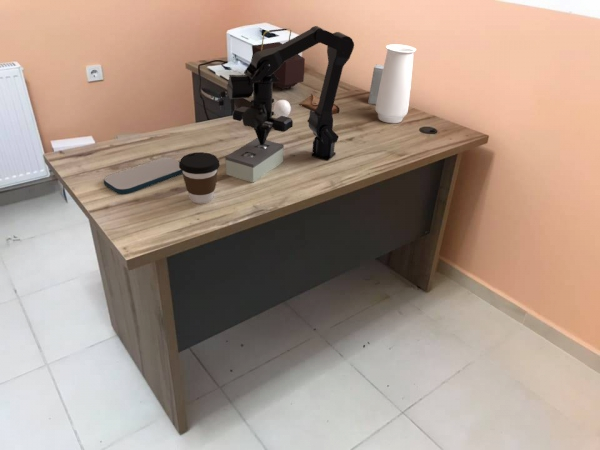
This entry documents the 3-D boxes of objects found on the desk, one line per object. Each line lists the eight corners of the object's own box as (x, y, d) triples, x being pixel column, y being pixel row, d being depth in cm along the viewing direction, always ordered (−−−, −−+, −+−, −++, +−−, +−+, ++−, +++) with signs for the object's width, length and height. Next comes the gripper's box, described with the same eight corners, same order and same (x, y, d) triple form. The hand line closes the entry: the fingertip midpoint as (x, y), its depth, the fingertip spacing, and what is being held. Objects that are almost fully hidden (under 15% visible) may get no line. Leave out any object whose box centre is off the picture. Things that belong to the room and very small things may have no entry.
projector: (277, 77, 244) (278, 23, 230) (307, 90, 229) (311, 33, 215) (249, 82, 234) (249, 26, 221) (279, 96, 220) (281, 37, 206)
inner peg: (268, 161, 162) (268, 145, 159) (263, 164, 159) (263, 149, 156) (260, 159, 163) (260, 143, 160) (255, 162, 160) (255, 146, 158)
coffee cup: (174, 197, 140) (170, 158, 134) (206, 185, 147) (204, 148, 140) (196, 212, 134) (193, 172, 127) (229, 199, 140) (227, 161, 134)
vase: (406, 126, 196) (419, 53, 181) (373, 122, 198) (383, 50, 183) (405, 115, 207) (417, 45, 192) (374, 111, 209) (384, 42, 194)
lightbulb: (290, 126, 190) (292, 97, 184) (288, 132, 185) (290, 103, 179) (274, 124, 191) (275, 96, 185) (272, 130, 185) (272, 102, 179)
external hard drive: (168, 160, 160) (167, 155, 159) (190, 172, 154) (189, 167, 153) (100, 183, 145) (99, 177, 144) (121, 198, 139) (120, 192, 138)
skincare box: (367, 104, 217) (372, 67, 208) (370, 99, 223) (375, 63, 214) (387, 106, 215) (392, 70, 206) (389, 102, 221) (394, 65, 212)
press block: (283, 161, 163) (283, 144, 160) (253, 182, 150) (253, 164, 146) (257, 154, 167) (257, 137, 164) (226, 174, 153) (225, 156, 150)
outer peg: (255, 170, 156) (255, 154, 153) (249, 174, 153) (249, 157, 150) (247, 168, 157) (247, 152, 154) (241, 171, 154) (241, 155, 151)
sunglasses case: (296, 103, 212) (303, 89, 211) (306, 109, 217) (313, 95, 216) (324, 116, 200) (332, 101, 199) (334, 122, 206) (342, 107, 204)
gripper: (221, 97, 147) (223, 146, 155) (275, 110, 140) (274, 160, 148) (242, 88, 155) (243, 134, 164) (294, 99, 148) (292, 148, 157)
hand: (262, 144), depth 158 cm, fingers closed
